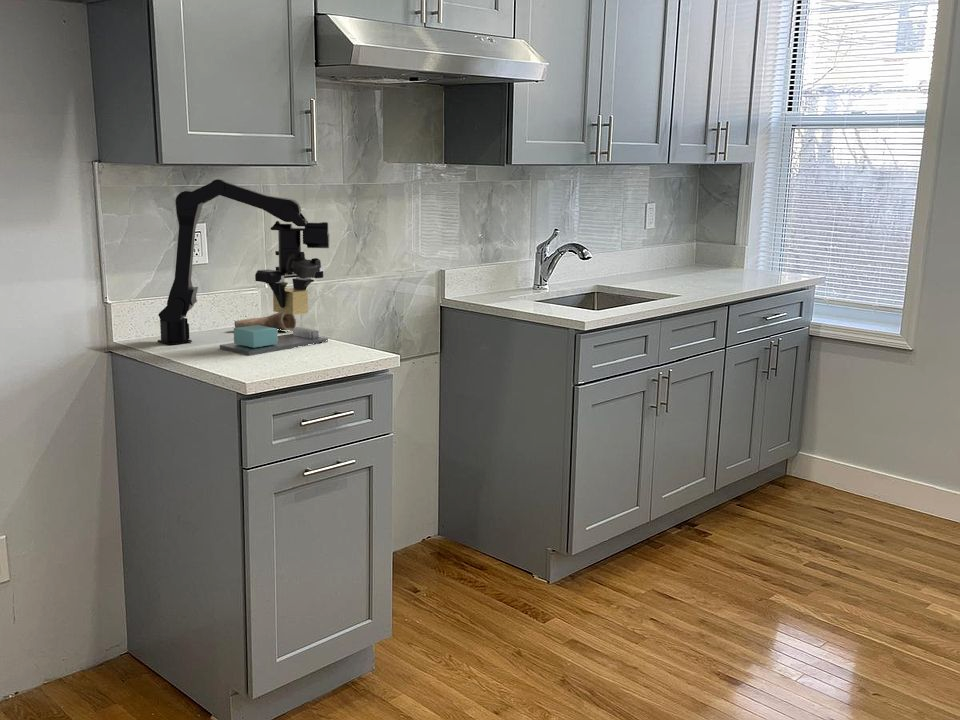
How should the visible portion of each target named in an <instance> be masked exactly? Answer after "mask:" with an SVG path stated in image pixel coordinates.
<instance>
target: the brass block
mask: <svg viewBox="0 0 960 720" xmlns="http://www.w3.org/2000/svg"><path fill="white" fill-rule="evenodd" d="M308 292H309V291H308V290H307V289H306V290H301V289H294V287H285V306H284V308H281V307H280V305H279V303H278V301H277V299H276V297H275V295H274V293H273V292H272V302H273V303H272V304H273V305H272V308H273V310H272V311H273V312H274V313H285V314H290V315H294V316H296V315H301V314H302V315H304V314H308V311H309V306H308V305H309V304H308V303H309V302H308V299H309V297H308Z"/></svg>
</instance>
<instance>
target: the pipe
mask: <svg viewBox="0 0 960 720" xmlns="http://www.w3.org/2000/svg"><path fill="white" fill-rule="evenodd" d="M296 319H297V318H295V315H290V314H285V313H279V312H275V313H273V314H271V315H268V316H263V317H254V318H246V319H240V320H234V328H238V327H245V326H252V325H261V326H267V327H272V328H277V329H279V330H280V329H281V330H290V331H293V328H296V327H297V326H296V325H297V320H296Z"/></svg>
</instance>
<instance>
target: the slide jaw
mask: <svg viewBox="0 0 960 720" xmlns="http://www.w3.org/2000/svg"><path fill="white" fill-rule="evenodd" d="M278 336H279V335H278V331H277V328H272V327H267V326H261V325H252V326H245V327H238V328H235V327H234V328H233V343H235V344H239V345H244V346H248V347H253V348H255V347H261V346H267V345H273V344H277V341H278Z"/></svg>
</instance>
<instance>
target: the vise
mask: <svg viewBox="0 0 960 720" xmlns="http://www.w3.org/2000/svg"><path fill="white" fill-rule="evenodd" d="M319 332H320V331H319V330H317V329H312V328H307V327H300V326H298V327H297V326H295V328H293V332H292V333H288V334H287V333H286V334H281V335H278V341H277V344H273V345H267V346H261V347H255V348H253V347H248V346H244V345H239V344H235V343H234V342H231V343H225V344H219V350H224V351H227V352H231V353H235V354H236V353H237V354H241V355H246V356H254V355H260V354H266V353H267V354H268V353H271V352H272V353H273V352H277V351H283V350H289V348H290V349H295V348H294V347H296V348H299V347H298V346H302V347H304V346H303V345H307V346H309V345H308V344H313V343H319V342H325V341H326V340H327V342H325V343H328V342H329V338H328V337H325V336H324V337H322V336H319V335H320V334H319ZM319 344H320V343H319ZM313 345H314V344H313Z"/></svg>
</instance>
